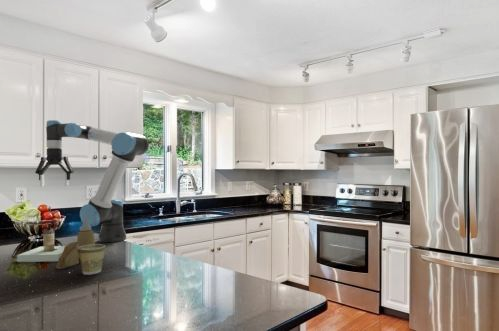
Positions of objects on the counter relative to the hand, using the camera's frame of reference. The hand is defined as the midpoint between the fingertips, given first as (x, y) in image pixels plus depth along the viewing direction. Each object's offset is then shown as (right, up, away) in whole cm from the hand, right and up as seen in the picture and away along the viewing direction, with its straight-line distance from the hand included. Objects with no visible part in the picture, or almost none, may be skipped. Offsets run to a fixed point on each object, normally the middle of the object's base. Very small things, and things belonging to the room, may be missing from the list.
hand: (54, 186), depth 203 cm
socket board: (+16, -31, -34) cm, 49 cm away
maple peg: (+16, -31, -34) cm, 49 cm away
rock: (+33, -31, -51) cm, 68 cm away
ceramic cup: (+48, -30, -60) cm, 83 cm away
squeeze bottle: (+35, -31, -38) cm, 60 cm away
